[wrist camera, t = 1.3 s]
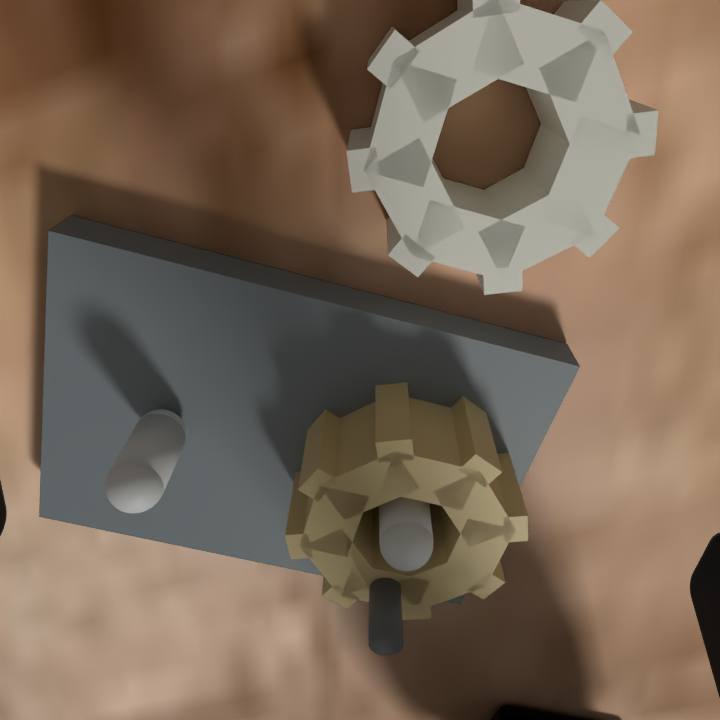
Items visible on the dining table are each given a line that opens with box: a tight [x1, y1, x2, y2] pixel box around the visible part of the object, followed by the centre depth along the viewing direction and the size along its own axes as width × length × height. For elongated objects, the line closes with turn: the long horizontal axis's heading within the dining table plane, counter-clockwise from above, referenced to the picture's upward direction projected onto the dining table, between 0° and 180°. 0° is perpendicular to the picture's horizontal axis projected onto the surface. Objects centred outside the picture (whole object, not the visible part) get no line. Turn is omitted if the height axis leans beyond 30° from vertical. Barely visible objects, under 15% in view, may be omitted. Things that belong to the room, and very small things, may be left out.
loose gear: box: [346, 0, 659, 295], centre depth 16 cm, size 7×7×3 cm
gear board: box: [39, 216, 580, 655], centre depth 20 cm, size 16×11×6 cm
